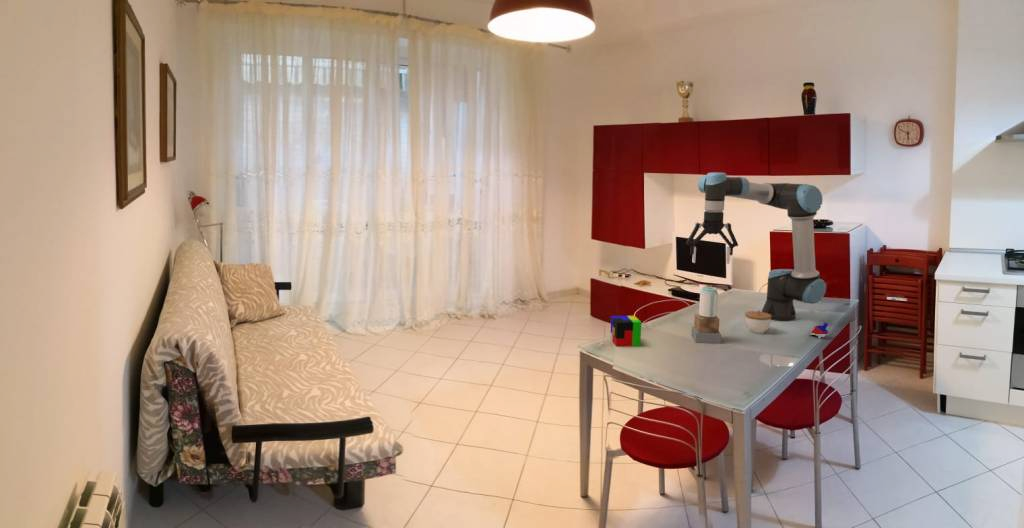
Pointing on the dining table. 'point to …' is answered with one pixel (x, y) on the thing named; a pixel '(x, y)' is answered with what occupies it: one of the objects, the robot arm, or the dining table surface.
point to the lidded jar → (757, 321)
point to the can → (708, 302)
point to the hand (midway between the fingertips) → (710, 262)
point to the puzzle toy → (625, 331)
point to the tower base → (705, 337)
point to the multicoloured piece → (820, 329)
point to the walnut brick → (706, 324)
